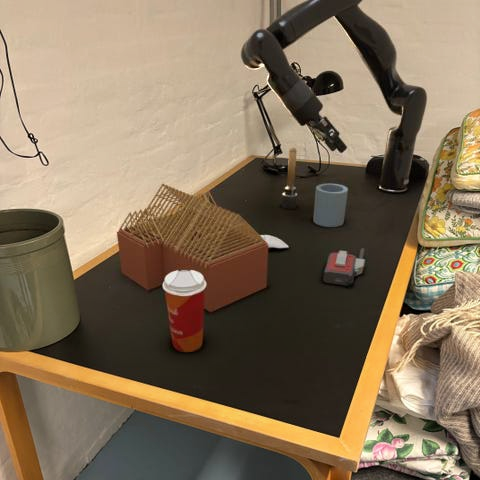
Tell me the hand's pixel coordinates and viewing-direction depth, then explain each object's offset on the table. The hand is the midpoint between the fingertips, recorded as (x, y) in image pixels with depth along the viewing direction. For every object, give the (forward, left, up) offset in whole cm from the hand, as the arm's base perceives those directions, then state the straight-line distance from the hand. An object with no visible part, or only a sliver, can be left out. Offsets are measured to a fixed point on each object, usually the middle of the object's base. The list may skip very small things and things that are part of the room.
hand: (339, 149), depth 135 cm
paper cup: (+67, -23, -22) cm, 74 cm away
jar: (-3, -1, -21) cm, 22 cm away
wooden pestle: (-13, -14, -21) cm, 28 cm away
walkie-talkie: (+28, +5, -22) cm, 36 cm away
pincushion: (+20, -16, -22) cm, 34 cm away
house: (+41, -29, -22) cm, 55 cm away
